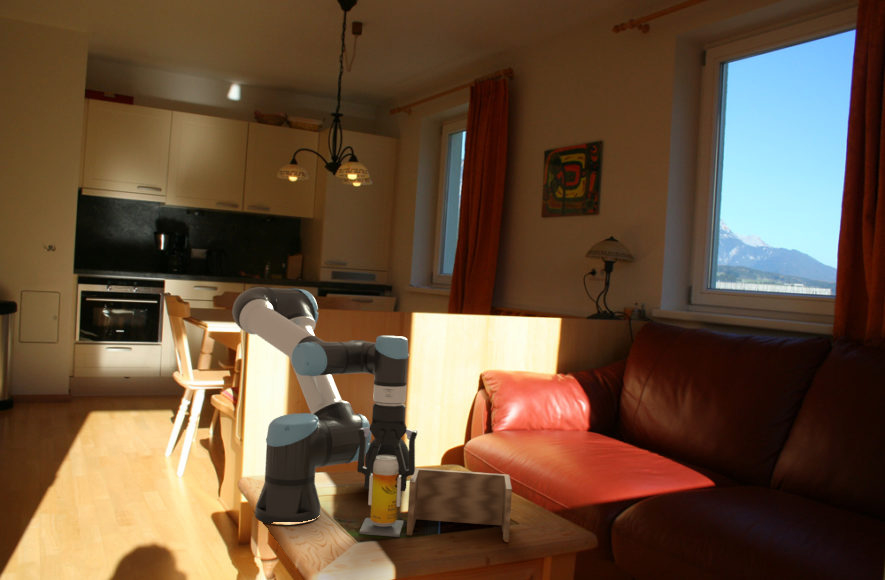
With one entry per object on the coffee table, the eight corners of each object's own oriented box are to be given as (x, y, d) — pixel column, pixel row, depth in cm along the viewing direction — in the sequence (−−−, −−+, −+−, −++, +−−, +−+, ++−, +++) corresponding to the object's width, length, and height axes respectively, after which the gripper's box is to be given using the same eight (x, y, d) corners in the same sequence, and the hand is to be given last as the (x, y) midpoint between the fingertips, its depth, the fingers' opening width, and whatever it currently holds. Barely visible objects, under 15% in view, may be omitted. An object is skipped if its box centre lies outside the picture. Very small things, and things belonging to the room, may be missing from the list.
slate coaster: (359, 533, 155) (359, 531, 155) (365, 520, 164) (365, 517, 164) (399, 536, 154) (399, 534, 154) (403, 523, 163) (403, 520, 163)
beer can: (392, 528, 155) (396, 461, 155) (366, 525, 156) (370, 459, 156) (399, 520, 161) (403, 455, 161) (374, 517, 162) (378, 453, 162)
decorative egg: (373, 496, 182) (376, 440, 181) (356, 483, 193) (360, 430, 192) (415, 492, 187) (419, 437, 187) (397, 480, 198) (400, 428, 198)
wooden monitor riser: (406, 534, 156) (409, 481, 155) (411, 517, 168) (414, 467, 167) (508, 542, 155) (511, 489, 154) (506, 524, 167) (509, 474, 166)
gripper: (346, 403, 155) (341, 506, 155) (429, 407, 155) (424, 511, 154) (351, 398, 163) (346, 497, 163) (430, 402, 162) (426, 501, 162)
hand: (384, 503), depth 159 cm, fingers closed on beer can, 6 cm apart
